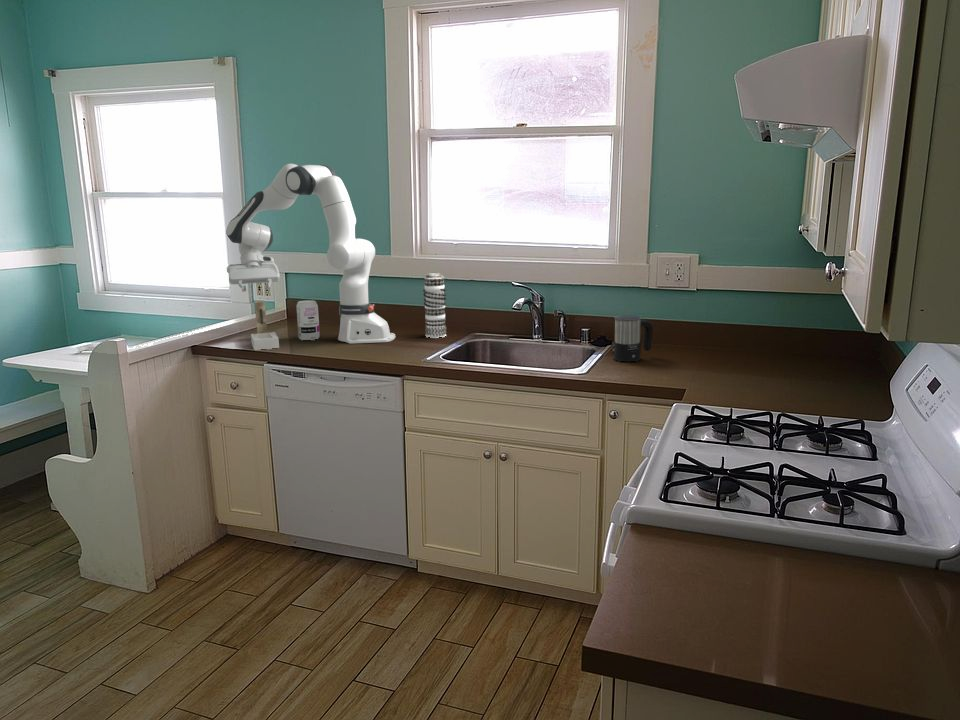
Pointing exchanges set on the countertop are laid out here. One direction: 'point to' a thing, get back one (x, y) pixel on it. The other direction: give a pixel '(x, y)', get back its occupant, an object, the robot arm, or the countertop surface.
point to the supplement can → (308, 320)
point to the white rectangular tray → (264, 341)
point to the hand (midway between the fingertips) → (256, 289)
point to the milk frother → (631, 337)
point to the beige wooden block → (260, 317)
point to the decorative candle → (434, 305)
